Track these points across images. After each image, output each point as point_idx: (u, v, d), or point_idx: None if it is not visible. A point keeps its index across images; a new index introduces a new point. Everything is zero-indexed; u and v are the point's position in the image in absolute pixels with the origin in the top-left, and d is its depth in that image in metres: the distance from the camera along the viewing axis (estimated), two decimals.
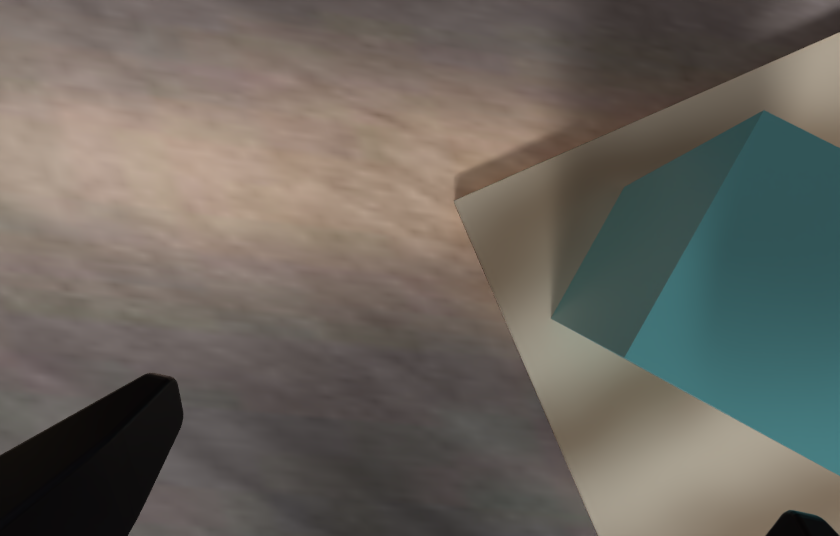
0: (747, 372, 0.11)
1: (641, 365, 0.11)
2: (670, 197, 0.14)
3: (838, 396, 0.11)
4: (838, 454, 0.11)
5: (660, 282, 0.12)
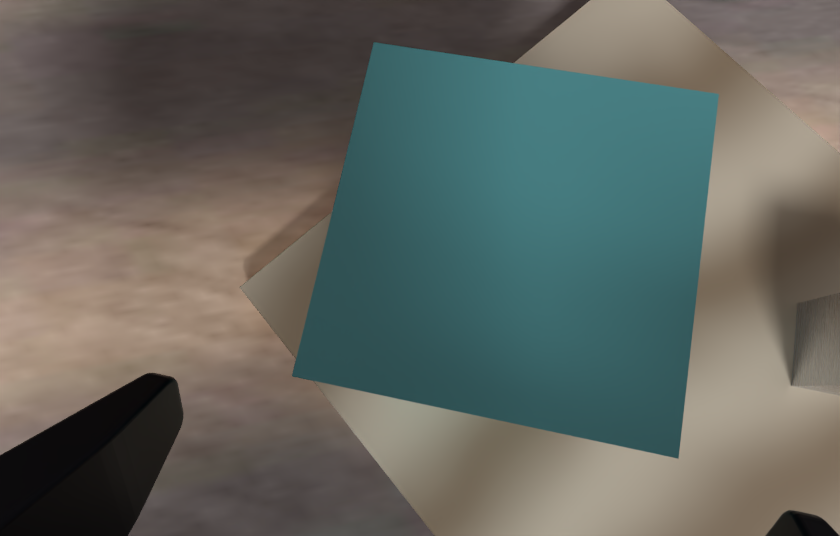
0: (449, 345, 0.08)
1: (316, 379, 0.08)
2: None
3: (569, 339, 0.08)
4: (597, 415, 0.08)
5: (324, 269, 0.09)
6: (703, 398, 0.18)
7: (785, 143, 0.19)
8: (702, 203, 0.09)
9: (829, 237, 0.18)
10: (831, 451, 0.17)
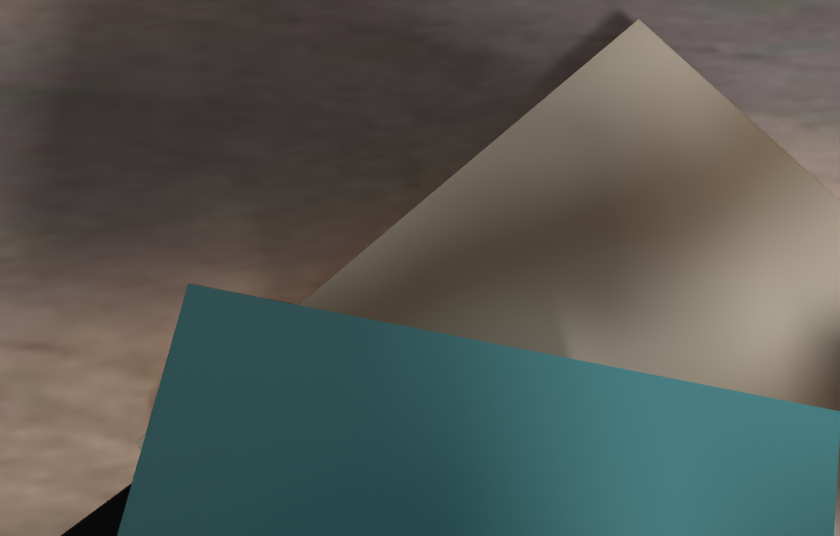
0: None
1: None
2: None
3: None
4: None
5: None
6: None
7: None
8: None
9: None
10: None
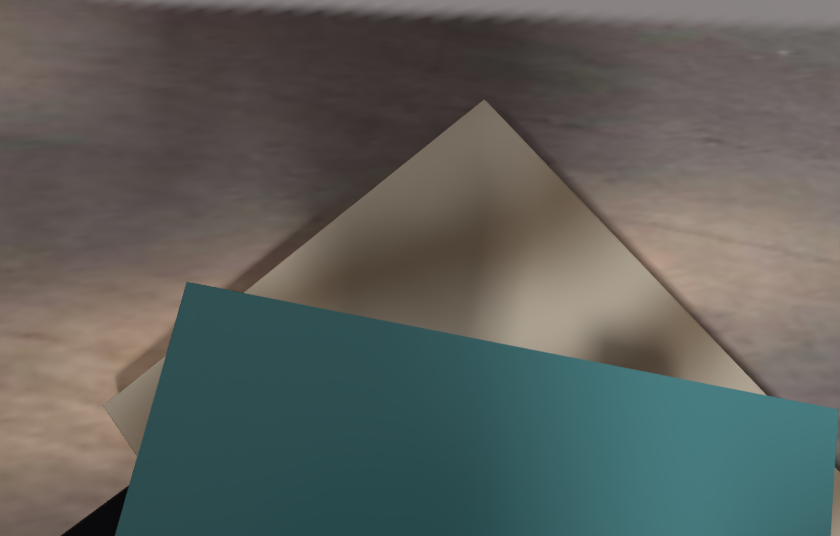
0: None
1: None
2: None
3: None
4: None
5: None
6: None
7: (616, 278, 0.20)
8: None
9: (649, 372, 0.20)
10: None
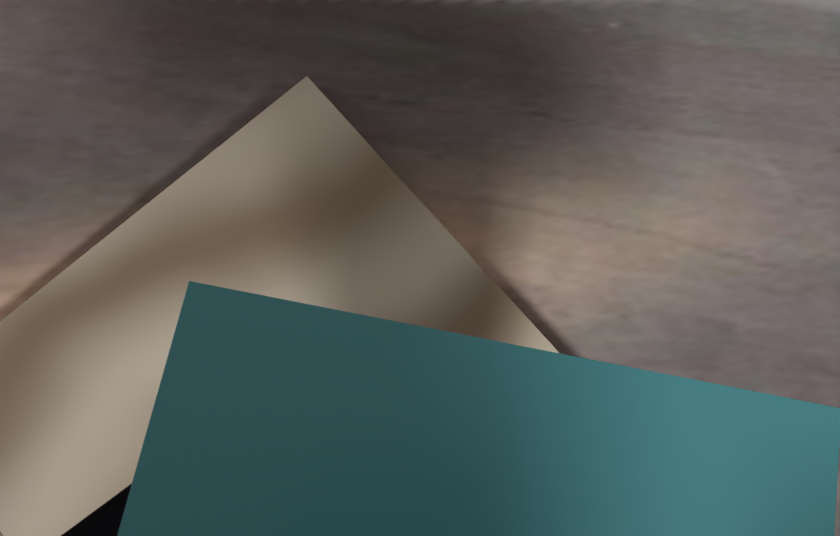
0: None
1: None
2: None
3: None
4: None
5: None
6: None
7: (428, 252, 0.20)
8: None
9: None
10: None
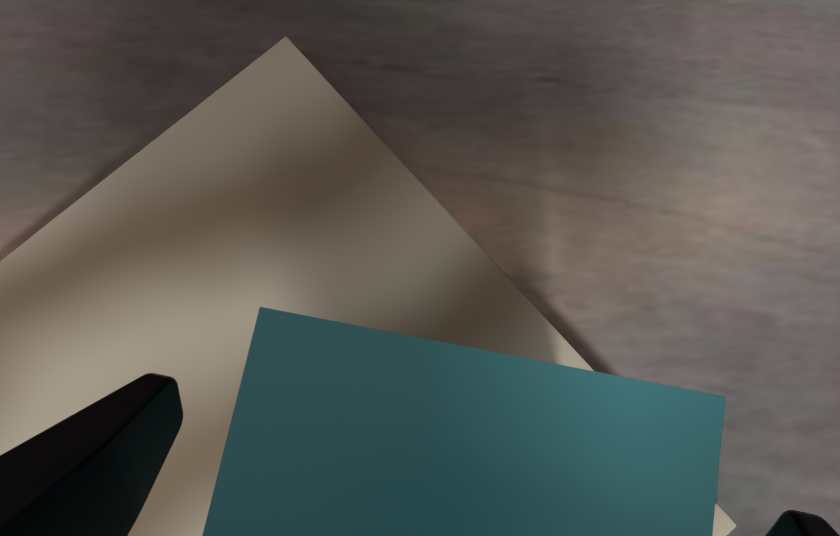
0: None
1: None
2: None
3: None
4: None
5: None
6: None
7: (423, 234, 0.17)
8: None
9: (456, 341, 0.17)
10: None
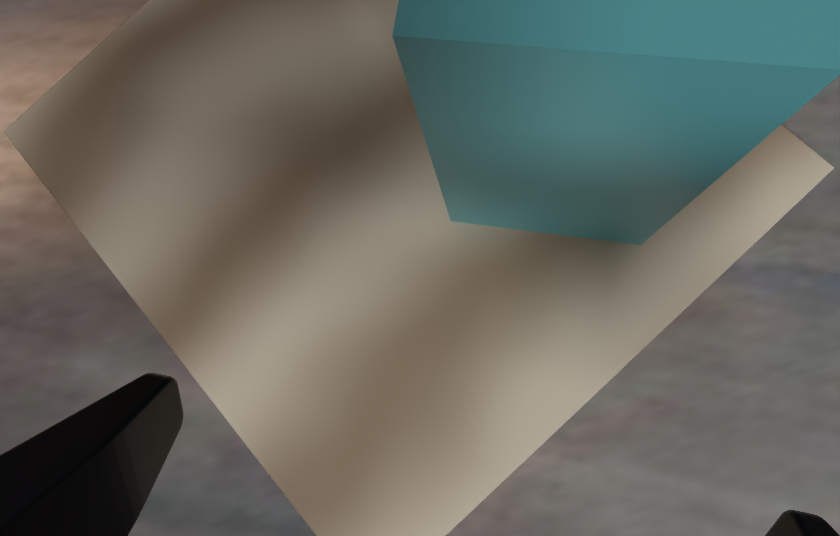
0: None
1: (419, 36, 0.08)
2: None
3: None
4: (743, 37, 0.07)
5: None
6: (421, 200, 0.18)
7: None
8: None
9: None
10: (541, 240, 0.17)
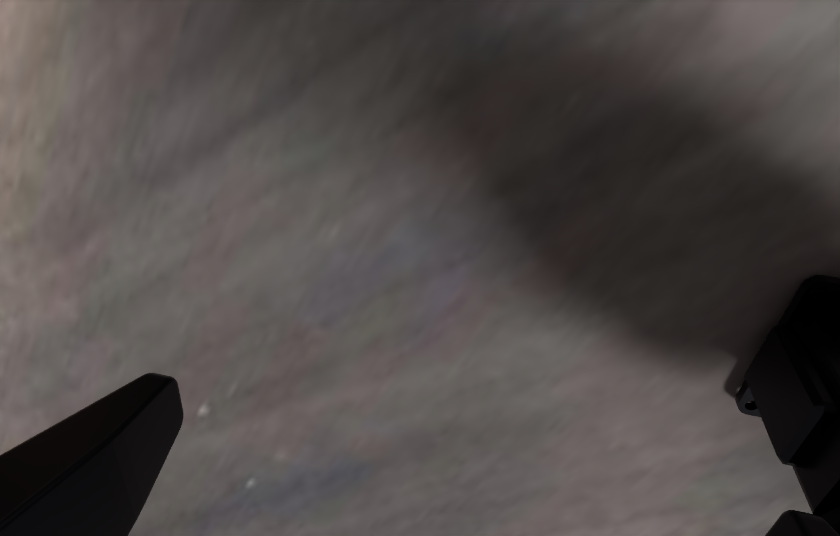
0: None
1: None
2: None
3: None
4: None
5: None
6: None
7: None
8: None
9: None
10: None
